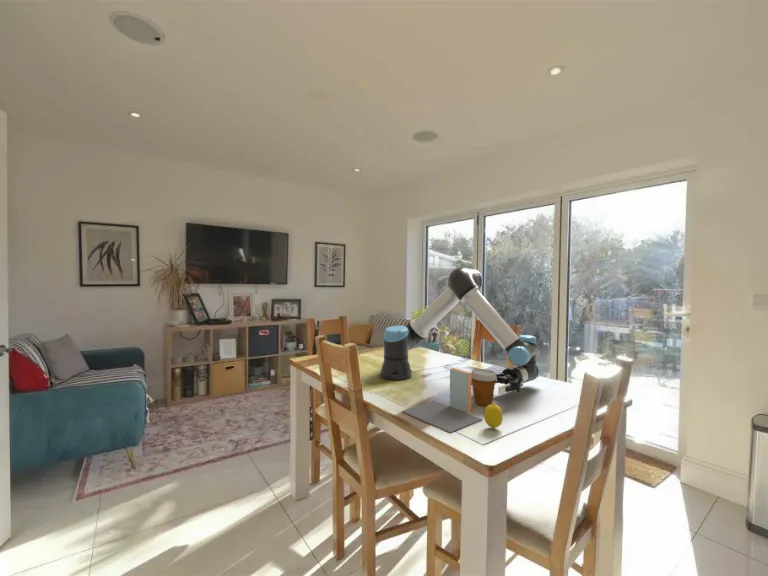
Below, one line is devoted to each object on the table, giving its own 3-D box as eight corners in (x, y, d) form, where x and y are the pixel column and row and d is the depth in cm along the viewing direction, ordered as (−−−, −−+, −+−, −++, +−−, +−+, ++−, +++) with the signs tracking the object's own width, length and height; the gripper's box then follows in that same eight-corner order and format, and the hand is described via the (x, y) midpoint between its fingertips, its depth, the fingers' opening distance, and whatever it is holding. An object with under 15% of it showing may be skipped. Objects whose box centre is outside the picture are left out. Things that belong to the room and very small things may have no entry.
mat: (402, 411, 125) (402, 410, 125) (433, 401, 135) (433, 400, 135) (450, 433, 108) (450, 432, 108) (482, 420, 118) (482, 418, 118)
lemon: (498, 424, 114) (498, 400, 114) (505, 432, 109) (505, 406, 108) (481, 425, 114) (481, 400, 114) (487, 432, 108) (487, 406, 108)
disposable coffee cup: (500, 408, 128) (500, 375, 128) (473, 408, 128) (474, 375, 128) (491, 399, 138) (492, 368, 137) (467, 399, 138) (467, 368, 137)
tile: (449, 406, 130) (449, 368, 130) (453, 405, 131) (453, 367, 131) (466, 413, 124) (467, 373, 123) (470, 411, 125) (471, 372, 125)
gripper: (543, 393, 136) (513, 405, 122) (488, 378, 155) (456, 388, 142) (544, 373, 136) (514, 384, 122) (488, 361, 155) (456, 369, 142)
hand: (483, 386), depth 132 cm, fingers open, 13 cm apart
